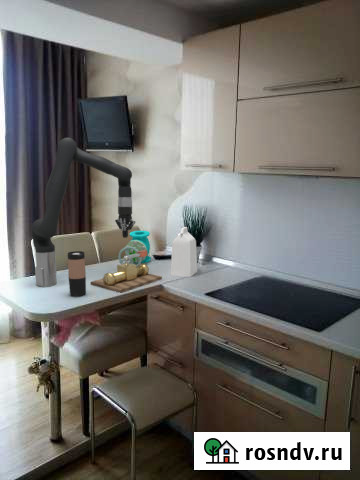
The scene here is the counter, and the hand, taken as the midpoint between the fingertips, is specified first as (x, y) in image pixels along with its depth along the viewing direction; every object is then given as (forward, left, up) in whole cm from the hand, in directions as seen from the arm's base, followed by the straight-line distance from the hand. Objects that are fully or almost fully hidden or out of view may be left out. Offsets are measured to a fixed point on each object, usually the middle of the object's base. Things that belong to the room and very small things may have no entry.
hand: (125, 237), depth 211 cm
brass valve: (-9, -10, -21) cm, 25 cm away
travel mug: (-38, -7, -22) cm, 44 cm away
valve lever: (-2, -9, -10) cm, 14 cm away
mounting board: (-9, -10, -21) cm, 25 cm away
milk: (+23, -23, -22) cm, 39 cm away
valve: (+22, +13, -22) cm, 34 cm away
